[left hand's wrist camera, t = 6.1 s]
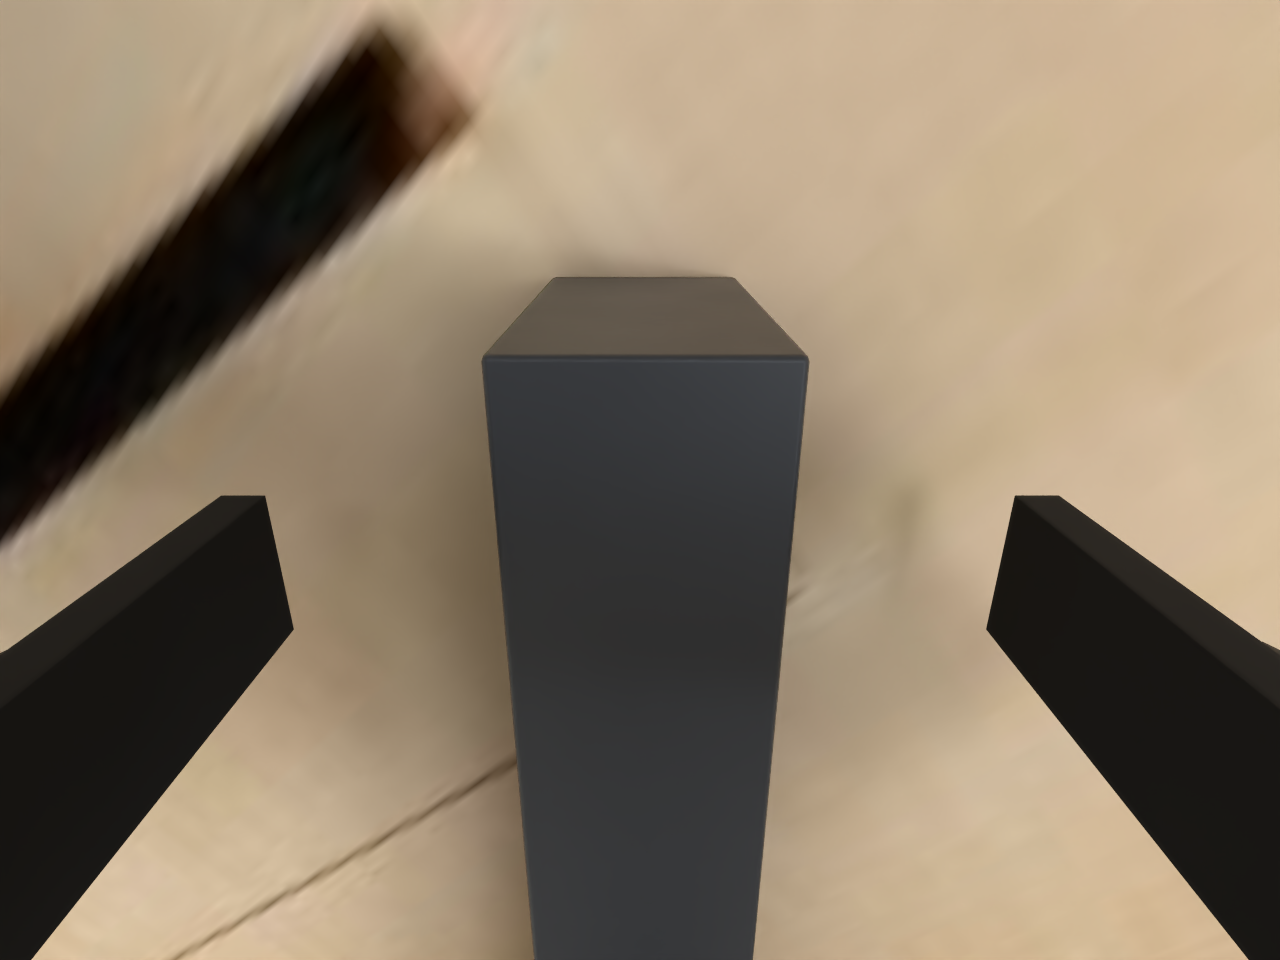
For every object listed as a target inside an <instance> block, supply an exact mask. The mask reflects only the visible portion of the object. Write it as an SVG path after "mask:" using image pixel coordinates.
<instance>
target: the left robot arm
mask: <svg viewBox="0 0 1280 960" xmlns="http://www.w3.org/2000/svg"><path fill="white" fill-rule="evenodd" d="M293 630H294V628H293V623H292V619H291V614H290V609H289V605H288V600H287V595H286V591H285V586H284V581H283V577H282V572H281V568H280V563H279V558H278V554H277V549H276V544H275V540H274V535H273V530H272V526H271V521H270V516H269V512H268V507H267V502H266V498H265V496H220V497H219V498H217V499H216V500H215V501H213V502H212V503H210V504H209V505H208V506H206V507H205V508H203V509H202V510H201V511H199V512H198V513H197V514H195V515H194V516H192V517H191V518H190V519H188V520H187V521H185V522H184V523H183V524H181V525H180V526H178V527H177V528H176V529H174V530H173V531H172V532H170V533H169V534H167V535H166V536H165V537H163V538H162V539H160V540H159V541H158V542H156V543H155V544H154V545H152V546H151V547H149V548H148V549H147V550H145V551H144V552H142V553H141V554H140V555H138V556H137V557H135V558H134V559H133V560H131V561H130V562H129V563H127V564H126V565H124V566H123V567H122V568H120V569H119V570H117V571H116V572H115V573H113V574H112V575H111V576H109V577H108V578H106V579H105V580H104V581H102V582H101V583H99V584H98V585H97V586H95V587H94V588H93V589H91V590H90V591H88V592H87V593H86V594H84V595H83V596H81V597H80V598H79V599H77V600H76V601H74V602H73V603H72V604H70V605H69V606H68V607H66V608H65V609H63V610H62V611H61V612H59V613H58V614H56V615H55V616H54V617H52V618H51V619H50V620H48V621H47V622H45V623H44V624H43V625H41V626H40V627H38V628H37V629H36V630H34V631H33V632H31V633H30V634H29V635H27V636H26V637H25V638H23V639H22V640H20V641H19V642H18V643H16V644H15V645H13V646H12V647H11V648H9V649H8V650H6V651H4V652H2V653H0V960H31V959H32V958H33V957H34V956H35V954H36V953H37V952H38V951H39V949H40V948H41V947H42V946H43V944H44V943H45V942H46V940H47V939H48V938H49V937H50V935H51V934H52V933H53V932H54V930H55V929H56V928H57V927H58V925H59V924H60V923H61V922H62V920H63V919H64V918H65V917H66V915H67V914H68V913H69V912H70V910H71V909H72V908H73V907H74V905H75V904H76V903H77V901H78V900H79V899H80V898H81V896H82V895H83V894H84V893H85V891H86V890H87V889H88V888H89V886H90V885H91V884H92V883H93V881H94V880H95V879H96V878H97V876H98V875H99V874H100V873H101V871H102V870H103V869H104V868H105V866H106V865H107V864H108V862H109V861H110V860H111V859H112V857H113V856H114V855H115V854H116V852H117V851H118V850H119V849H120V847H121V846H122V845H123V844H124V842H125V841H126V840H127V839H128V837H129V836H130V835H131V834H132V832H133V831H134V830H135V829H136V827H137V826H138V825H139V823H140V822H141V821H142V820H143V818H144V817H145V816H146V815H147V813H148V812H149V811H150V810H151V808H152V807H153V806H154V805H155V803H156V802H157V801H158V800H159V798H160V797H161V796H162V795H163V793H164V792H165V791H166V789H167V788H168V787H169V786H170V784H171V783H172V782H173V781H174V779H175V778H176V777H177V776H178V774H179V773H180V772H181V771H182V769H183V768H184V767H185V766H186V764H187V763H188V762H189V761H190V759H191V758H192V757H193V756H194V754H195V753H196V752H197V750H198V749H199V748H200V747H201V745H202V744H203V743H204V742H205V740H206V739H207V738H208V737H209V735H210V734H211V733H212V732H213V730H214V729H215V728H216V727H217V725H218V724H219V723H220V722H221V720H222V719H223V718H224V717H225V715H226V714H227V713H228V711H229V710H230V709H231V708H232V706H233V705H234V704H235V703H236V701H237V700H238V699H239V698H240V696H241V695H242V694H243V693H244V691H245V690H246V689H247V688H248V686H249V685H250V684H251V683H252V681H253V680H254V679H255V677H256V676H257V675H258V674H259V672H260V671H261V670H262V669H263V667H264V666H265V665H266V664H267V662H268V661H269V660H270V659H271V657H272V656H273V655H274V654H275V652H276V651H277V650H278V649H279V647H280V646H281V645H282V644H283V642H284V641H285V640H286V638H287V637H288V636H289V635H290V633H291V632H292V631H293ZM986 630H987V631H988V632H989V633H990V635H991V636H992V637H993V638H994V640H995V641H996V642H997V644H998V645H999V646H1000V647H1001V649H1002V650H1003V651H1004V652H1005V654H1006V655H1007V656H1008V657H1009V659H1010V660H1011V661H1012V662H1013V664H1014V665H1015V666H1016V667H1017V669H1018V670H1019V671H1020V672H1021V674H1022V675H1023V676H1024V677H1025V679H1026V680H1027V681H1028V683H1029V684H1030V685H1031V686H1032V688H1033V689H1034V690H1035V691H1036V693H1037V694H1038V695H1039V696H1040V698H1041V699H1042V700H1043V701H1044V703H1045V704H1046V705H1047V706H1048V708H1049V709H1050V710H1051V711H1052V713H1053V714H1054V715H1055V717H1056V718H1057V719H1058V720H1059V722H1060V723H1061V724H1062V725H1063V727H1064V728H1065V729H1066V730H1067V732H1068V733H1069V734H1070V735H1071V737H1072V738H1073V739H1074V740H1075V742H1076V743H1077V744H1078V745H1079V747H1080V748H1081V749H1082V750H1083V752H1084V753H1085V754H1086V756H1087V757H1088V758H1089V759H1090V761H1091V762H1092V763H1093V764H1094V766H1095V767H1096V768H1097V769H1098V771H1099V772H1100V773H1101V774H1102V776H1103V777H1104V778H1105V779H1106V781H1107V782H1108V783H1109V784H1110V786H1111V787H1112V788H1113V789H1114V791H1115V792H1116V793H1117V795H1118V796H1119V797H1120V798H1121V800H1122V801H1123V802H1124V803H1125V805H1126V806H1127V807H1128V808H1129V810H1130V811H1131V812H1132V813H1133V815H1134V816H1135V817H1136V818H1137V820H1138V821H1139V822H1140V823H1141V825H1142V826H1143V827H1144V829H1145V830H1146V831H1147V832H1148V834H1149V835H1150V836H1151V837H1152V839H1153V840H1154V841H1155V842H1156V844H1157V845H1158V846H1159V847H1160V849H1161V850H1162V851H1163V852H1164V854H1165V855H1166V856H1167V857H1168V859H1169V860H1170V861H1171V862H1172V864H1173V865H1174V866H1175V868H1176V869H1177V870H1178V871H1179V873H1180V874H1181V875H1182V876H1183V878H1184V879H1185V880H1186V881H1187V883H1188V884H1189V885H1190V886H1191V888H1192V889H1193V890H1194V891H1195V893H1196V894H1197V895H1198V896H1199V898H1200V899H1201V900H1202V901H1203V903H1204V904H1205V905H1206V907H1207V908H1208V909H1209V910H1210V912H1211V913H1212V914H1213V915H1214V917H1215V918H1216V919H1217V920H1218V922H1219V923H1220V924H1221V925H1222V927H1223V928H1224V929H1225V930H1226V932H1227V933H1228V934H1229V935H1230V937H1231V938H1232V939H1233V940H1234V942H1235V943H1236V944H1237V946H1238V947H1239V948H1240V949H1241V951H1242V952H1243V953H1244V954H1245V956H1246V957H1247V958H1248V959H1249V960H1280V650H1278V649H1276V648H1274V647H1272V646H1270V645H1268V644H1266V643H1264V642H1261V641H1260V640H1258V639H1257V638H1255V637H1254V636H1253V635H1251V634H1250V633H1249V632H1247V631H1246V630H1244V629H1243V628H1242V627H1240V626H1239V625H1237V624H1236V623H1235V622H1233V621H1232V620H1230V619H1229V618H1228V617H1226V616H1225V615H1224V614H1222V613H1221V612H1219V611H1218V610H1217V609H1215V608H1214V607H1212V606H1211V605H1210V604H1208V603H1207V602H1206V601H1204V600H1203V599H1201V598H1200V597H1199V596H1197V595H1196V594H1194V593H1193V592H1192V591H1190V590H1189V589H1187V588H1186V587H1185V586H1183V585H1182V584H1181V583H1179V582H1178V581H1176V580H1175V579H1174V578H1172V577H1171V576H1169V575H1168V574H1167V573H1165V572H1164V571H1163V570H1161V569H1160V568H1158V567H1157V566H1156V565H1154V564H1153V563H1151V562H1150V561H1149V560H1147V559H1146V558H1145V557H1143V556H1142V555H1140V554H1139V553H1138V552H1136V551H1135V550H1133V549H1132V548H1131V547H1129V546H1128V545H1126V544H1125V543H1124V542H1122V541H1121V540H1120V539H1118V538H1117V537H1115V536H1114V535H1113V534H1111V533H1110V532H1108V531H1107V530H1106V529H1104V528H1103V527H1102V526H1100V525H1099V524H1097V523H1096V522H1095V521H1093V520H1092V519H1090V518H1089V517H1088V516H1086V515H1085V514H1083V513H1082V512H1081V511H1079V510H1078V509H1077V508H1075V507H1074V506H1072V505H1071V504H1070V503H1068V502H1067V501H1065V500H1064V499H1063V498H1061V497H1060V496H1015V498H1014V502H1013V507H1012V512H1011V516H1010V521H1009V526H1008V530H1007V535H1006V540H1005V544H1004V549H1003V554H1002V558H1001V563H1000V568H999V572H998V577H997V581H996V586H995V591H994V595H993V600H992V605H991V609H990V614H989V619H988V623H987V628H986Z"/></svg>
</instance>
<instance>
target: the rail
mask: <svg viewBox="0 0 1280 960" xmlns="http://www.w3.org/2000/svg"><path fill="white" fill-rule="evenodd" d="M808 370H809V359H808V356H807V355H806V354H805V353H804V352H803V351H802V350H801V349H800V348H799V347H798V345H797V344H796V343H795V342H794V341H793V340H792V339H791V338H790V337H789V336H788V335H787V334H786V333H785V332H784V331H783V329H782V328H781V327H780V326H779V325H778V324H777V323H776V322H775V321H774V320H773V319H772V318H771V317H770V316H769V314H768V313H767V312H766V311H765V310H764V309H763V308H762V307H761V306H760V305H759V304H758V303H757V302H756V301H755V299H754V298H753V297H752V296H751V295H750V294H749V293H748V292H747V291H746V290H745V289H744V288H743V287H742V286H741V285H740V283H739V282H738V281H737V280H736V279H735V278H732V277H556V278H553V279H552V280H551V281H550V282H549V284H548V285H547V286H546V287H545V288H544V289H543V290H542V291H541V292H540V294H539V295H538V296H537V297H536V298H535V299H534V300H533V301H532V302H531V304H530V305H529V306H528V307H527V308H526V309H525V310H524V311H523V312H522V314H521V315H520V316H519V317H518V318H517V319H516V320H515V321H514V322H513V324H512V325H511V326H510V327H509V328H508V329H507V330H506V331H505V332H504V334H503V335H502V336H501V337H500V338H499V339H498V340H497V341H496V342H495V344H494V345H493V346H492V347H491V348H490V349H489V350H488V351H487V352H486V354H485V355H484V356H483V358H482V372H483V383H484V395H485V406H486V417H487V429H488V440H489V452H490V463H491V474H492V486H493V497H494V508H495V520H496V531H497V542H498V554H499V565H500V576H501V588H502V599H503V610H504V622H505V633H506V645H507V656H508V667H509V679H510V690H511V701H512V713H513V724H514V735H515V747H516V758H517V769H518V781H519V792H520V804H521V815H522V826H523V838H524V849H525V860H526V872H527V883H528V894H529V906H530V917H531V928H532V940H533V951H534V960H753V952H754V942H755V931H756V921H757V910H758V900H759V889H760V878H761V868H762V857H763V847H764V836H765V825H766V815H767V804H768V794H769V783H770V773H771V762H772V751H773V741H774V730H775V720H776V709H777V698H778V688H779V677H780V667H781V656H782V645H783V635H784V624H785V614H786V603H787V593H788V582H789V571H790V561H791V550H792V540H793V529H794V518H795V508H796V497H797V487H798V476H799V466H800V455H801V444H802V434H803V423H804V413H805V402H806V391H807V381H808Z"/></svg>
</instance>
